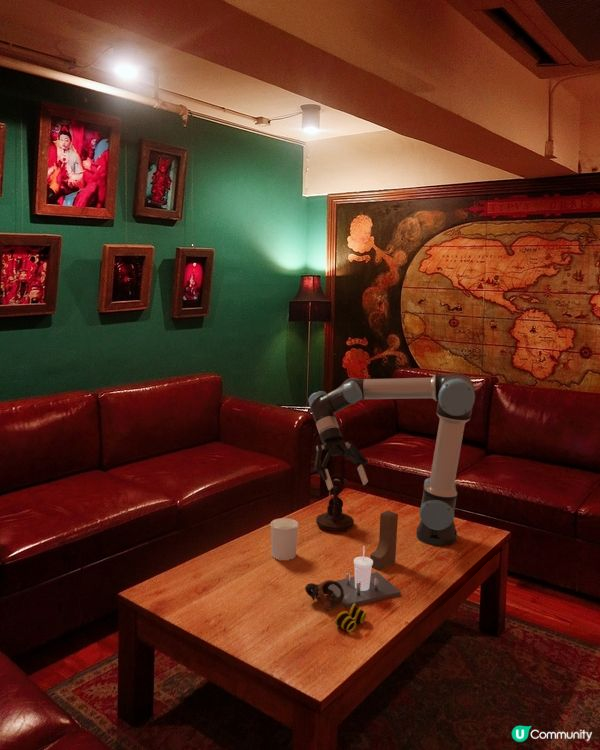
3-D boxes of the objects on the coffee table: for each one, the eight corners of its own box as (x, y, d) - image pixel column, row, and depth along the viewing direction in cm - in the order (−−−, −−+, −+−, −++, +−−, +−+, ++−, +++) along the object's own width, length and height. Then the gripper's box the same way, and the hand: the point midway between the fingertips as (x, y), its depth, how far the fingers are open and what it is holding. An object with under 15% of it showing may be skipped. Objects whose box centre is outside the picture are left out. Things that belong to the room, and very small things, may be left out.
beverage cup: (351, 582, 211) (353, 541, 208) (370, 582, 211) (372, 541, 209) (353, 592, 205) (355, 550, 202) (373, 592, 205) (375, 550, 203)
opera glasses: (347, 637, 184) (351, 623, 183) (332, 627, 187) (336, 613, 186) (366, 623, 192) (370, 609, 190) (351, 613, 195) (355, 599, 193)
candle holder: (265, 558, 228) (265, 526, 226) (276, 547, 237) (277, 516, 235) (291, 564, 225) (291, 531, 222) (301, 552, 234) (302, 520, 231)
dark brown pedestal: (317, 517, 265) (319, 470, 262) (354, 519, 264) (356, 472, 260) (314, 532, 251) (316, 482, 247) (353, 535, 249) (355, 485, 246)
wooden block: (379, 570, 222) (382, 520, 218) (369, 566, 225) (371, 516, 221) (395, 562, 228) (398, 513, 225) (385, 558, 231) (387, 509, 228)
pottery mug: (340, 595, 206) (347, 580, 201) (337, 622, 198) (344, 607, 193) (303, 585, 206) (310, 570, 201) (299, 611, 198) (305, 596, 193)
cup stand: (376, 575, 218) (377, 560, 218) (400, 595, 206) (401, 579, 205) (323, 586, 210) (324, 571, 209) (344, 608, 198) (345, 592, 197)
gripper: (355, 433, 241) (375, 485, 231) (294, 440, 231) (311, 495, 220) (363, 423, 236) (384, 476, 225) (301, 429, 225) (319, 485, 214)
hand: (348, 485), depth 223 cm, fingers open, 13 cm apart
